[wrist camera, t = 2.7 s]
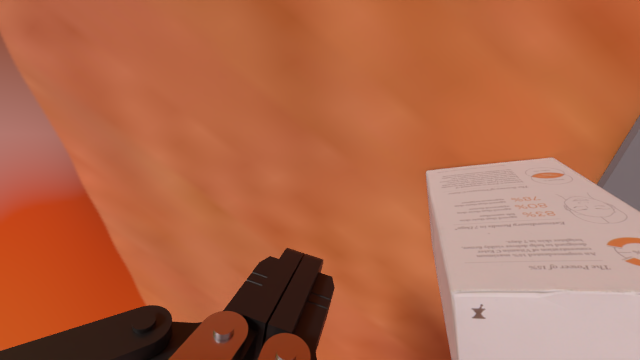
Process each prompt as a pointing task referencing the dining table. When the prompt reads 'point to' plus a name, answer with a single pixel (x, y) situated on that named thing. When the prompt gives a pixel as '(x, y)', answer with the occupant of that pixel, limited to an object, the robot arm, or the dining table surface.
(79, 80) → the dining table surface
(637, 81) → the dining table surface
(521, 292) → the small box
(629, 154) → the slate mat
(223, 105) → the dining table surface
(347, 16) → the dining table surface
